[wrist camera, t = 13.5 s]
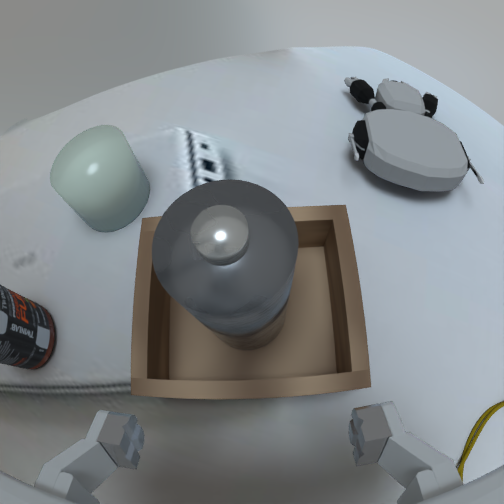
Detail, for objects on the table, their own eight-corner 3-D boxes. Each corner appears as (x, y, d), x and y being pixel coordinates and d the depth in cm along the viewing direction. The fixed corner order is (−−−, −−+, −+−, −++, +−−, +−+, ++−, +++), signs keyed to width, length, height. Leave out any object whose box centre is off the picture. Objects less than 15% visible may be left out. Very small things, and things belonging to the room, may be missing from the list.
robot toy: (336, 95, 32) (346, 195, 25) (340, 63, 28) (357, 157, 21) (431, 113, 31) (467, 212, 24) (442, 84, 27) (490, 183, 20)
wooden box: (160, 393, 20) (131, 394, 15) (164, 249, 24) (142, 218, 19) (348, 386, 19) (371, 387, 15) (332, 239, 24) (345, 204, 19)
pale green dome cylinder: (76, 235, 25) (40, 201, 20) (92, 173, 28) (64, 134, 22) (144, 228, 25) (114, 187, 19) (154, 163, 28) (133, 118, 22)
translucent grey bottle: (210, 351, 20) (137, 310, 9) (210, 279, 22) (152, 173, 11) (287, 348, 20) (308, 304, 9) (282, 275, 22) (291, 162, 11)
